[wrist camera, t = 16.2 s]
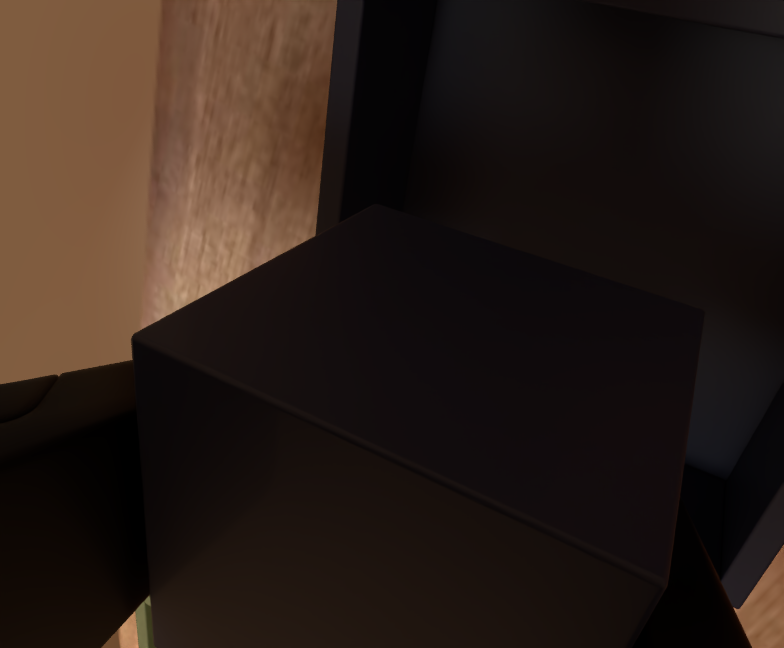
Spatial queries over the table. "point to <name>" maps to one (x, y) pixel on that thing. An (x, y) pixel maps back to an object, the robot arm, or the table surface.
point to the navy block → (412, 448)
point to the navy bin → (601, 186)
